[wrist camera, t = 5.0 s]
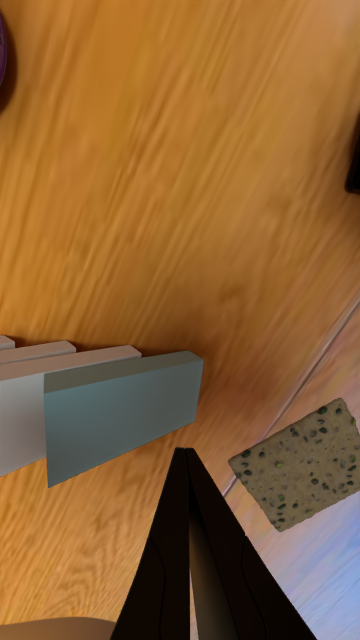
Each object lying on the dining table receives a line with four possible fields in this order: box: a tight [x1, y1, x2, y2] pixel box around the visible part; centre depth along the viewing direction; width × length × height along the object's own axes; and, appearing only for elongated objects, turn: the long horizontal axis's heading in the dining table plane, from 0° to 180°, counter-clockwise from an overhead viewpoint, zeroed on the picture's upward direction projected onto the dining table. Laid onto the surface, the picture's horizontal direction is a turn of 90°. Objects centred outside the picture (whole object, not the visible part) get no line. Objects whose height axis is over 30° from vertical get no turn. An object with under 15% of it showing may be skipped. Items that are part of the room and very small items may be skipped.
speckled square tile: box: [228, 398, 360, 532], centre depth 18 cm, size 12×12×1 cm
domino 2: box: [43, 350, 204, 488], centre depth 11 cm, size 2×5×9 cm
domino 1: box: [0, 345, 142, 477], centre depth 11 cm, size 2×5×9 cm
